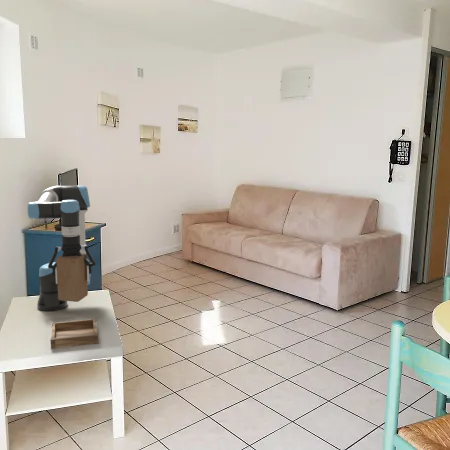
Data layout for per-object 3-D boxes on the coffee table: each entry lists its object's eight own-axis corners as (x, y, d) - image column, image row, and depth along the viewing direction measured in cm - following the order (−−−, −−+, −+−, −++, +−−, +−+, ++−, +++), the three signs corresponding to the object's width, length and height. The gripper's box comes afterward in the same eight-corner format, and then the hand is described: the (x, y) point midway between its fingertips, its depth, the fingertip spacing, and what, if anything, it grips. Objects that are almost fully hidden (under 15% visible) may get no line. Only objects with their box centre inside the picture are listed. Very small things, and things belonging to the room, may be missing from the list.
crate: (52, 330, 225) (51, 322, 224) (96, 326, 231) (95, 318, 230) (50, 348, 206) (50, 339, 205) (98, 343, 212) (98, 335, 211)
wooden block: (78, 302, 209) (76, 258, 205) (57, 300, 211) (55, 257, 207) (88, 295, 219) (87, 253, 215) (68, 293, 221) (66, 251, 217)
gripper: (40, 238, 202) (42, 286, 206) (100, 235, 210) (101, 282, 214) (41, 234, 209) (43, 281, 213) (99, 232, 217) (100, 277, 221)
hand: (72, 281), depth 213 cm, fingers closed on wooden block, 13 cm apart
